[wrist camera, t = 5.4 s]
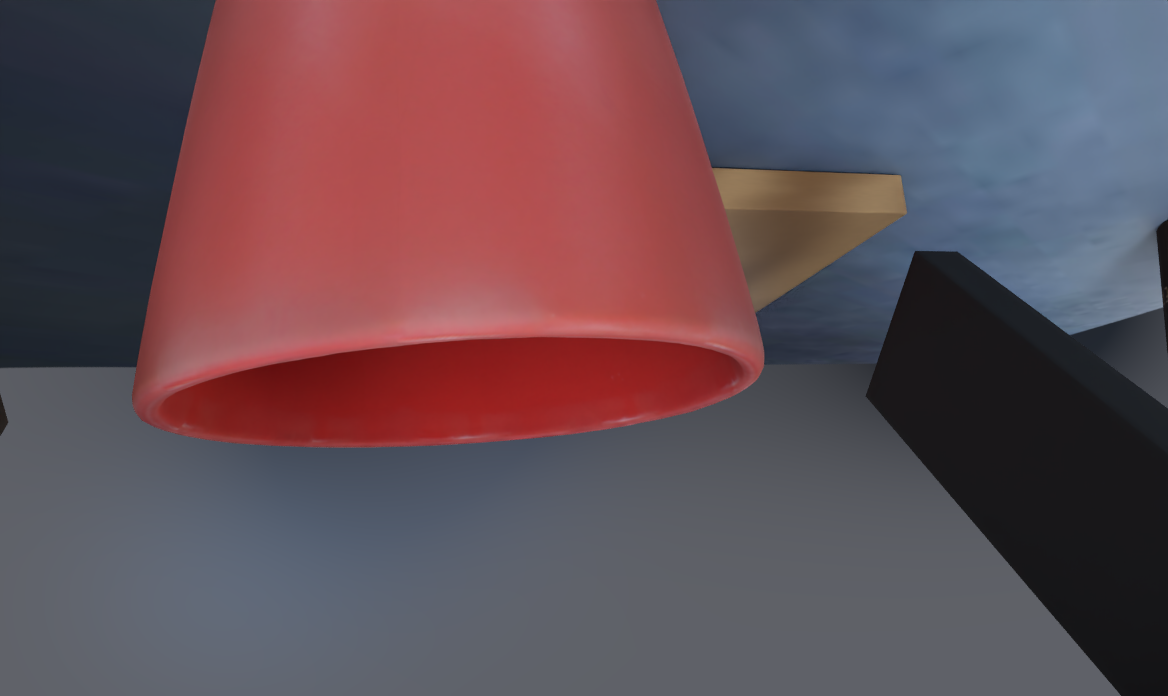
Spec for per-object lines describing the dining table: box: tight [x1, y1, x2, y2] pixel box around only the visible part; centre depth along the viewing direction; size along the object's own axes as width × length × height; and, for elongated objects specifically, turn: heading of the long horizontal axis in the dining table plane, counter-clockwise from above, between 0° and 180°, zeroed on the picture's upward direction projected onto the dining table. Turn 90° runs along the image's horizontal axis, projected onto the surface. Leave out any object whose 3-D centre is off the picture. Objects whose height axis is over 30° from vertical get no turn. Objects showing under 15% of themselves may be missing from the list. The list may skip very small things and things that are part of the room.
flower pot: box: [132, 0, 764, 447], centre depth 17 cm, size 11×11×10 cm
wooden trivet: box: [712, 168, 907, 313], centre depth 36 cm, size 20×16×2 cm
